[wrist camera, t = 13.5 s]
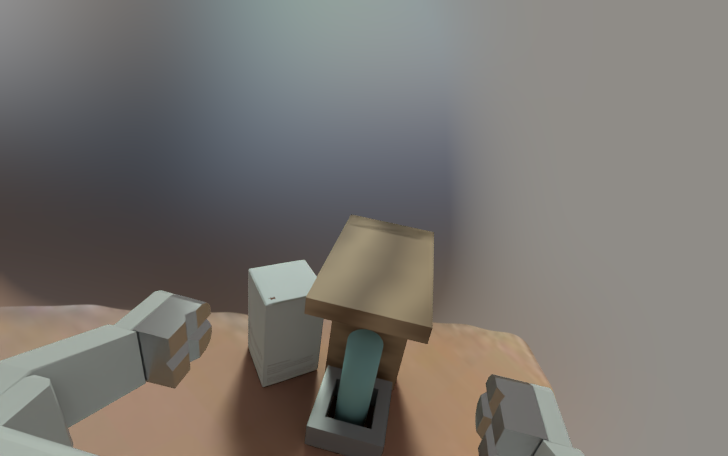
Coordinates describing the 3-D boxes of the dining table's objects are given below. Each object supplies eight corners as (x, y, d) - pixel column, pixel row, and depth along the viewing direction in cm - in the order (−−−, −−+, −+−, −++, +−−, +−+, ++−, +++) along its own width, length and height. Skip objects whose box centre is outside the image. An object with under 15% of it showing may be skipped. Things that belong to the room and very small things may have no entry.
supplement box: (319, 370, 46) (329, 292, 40) (261, 389, 42) (263, 306, 37) (299, 331, 52) (305, 257, 46) (246, 345, 48) (246, 267, 42)
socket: (304, 443, 37) (306, 425, 36) (325, 382, 44) (328, 365, 43) (378, 464, 37) (383, 447, 35) (388, 398, 44) (392, 382, 42)
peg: (330, 430, 39) (343, 350, 34) (338, 402, 42) (351, 325, 37) (362, 439, 39) (380, 360, 33) (367, 410, 42) (385, 334, 37)
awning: (289, 471, 35) (305, 297, 25) (330, 357, 48) (351, 214, 38) (379, 498, 34) (432, 328, 24) (395, 374, 47) (433, 232, 38)
